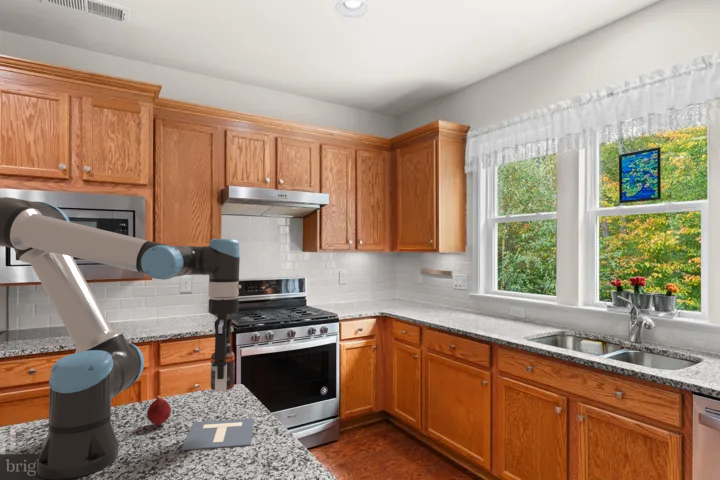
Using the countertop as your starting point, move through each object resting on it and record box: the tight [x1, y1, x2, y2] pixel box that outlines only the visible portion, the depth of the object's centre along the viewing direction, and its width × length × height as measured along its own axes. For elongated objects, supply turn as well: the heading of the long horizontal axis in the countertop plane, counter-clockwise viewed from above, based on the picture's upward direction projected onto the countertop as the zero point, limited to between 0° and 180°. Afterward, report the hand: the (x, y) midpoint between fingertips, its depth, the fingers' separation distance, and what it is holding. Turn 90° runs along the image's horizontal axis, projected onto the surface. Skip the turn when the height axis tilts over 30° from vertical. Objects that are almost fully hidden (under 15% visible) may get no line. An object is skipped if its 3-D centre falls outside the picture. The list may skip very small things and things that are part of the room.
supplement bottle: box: [210, 343, 236, 392], centre depth 110 cm, size 6×6×11 cm
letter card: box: [181, 418, 255, 451], centre depth 110 cm, size 16×16×1 cm
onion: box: [146, 395, 172, 427], centre depth 115 cm, size 6×6×8 cm
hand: (222, 386), depth 110 cm, fingers closed on supplement bottle, 6 cm apart
